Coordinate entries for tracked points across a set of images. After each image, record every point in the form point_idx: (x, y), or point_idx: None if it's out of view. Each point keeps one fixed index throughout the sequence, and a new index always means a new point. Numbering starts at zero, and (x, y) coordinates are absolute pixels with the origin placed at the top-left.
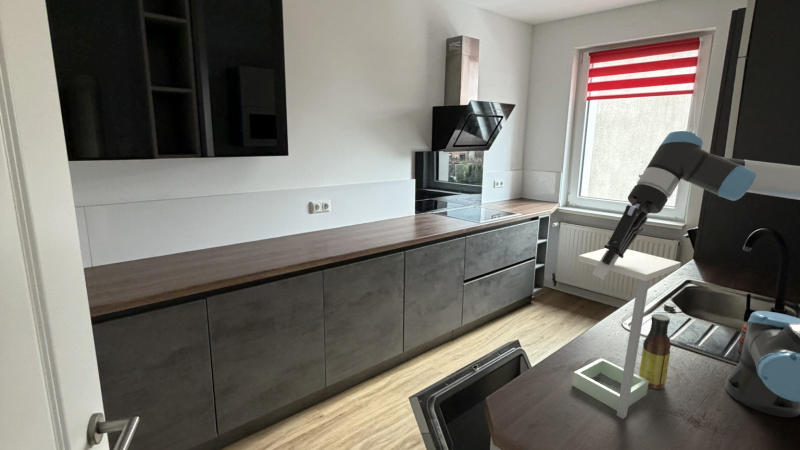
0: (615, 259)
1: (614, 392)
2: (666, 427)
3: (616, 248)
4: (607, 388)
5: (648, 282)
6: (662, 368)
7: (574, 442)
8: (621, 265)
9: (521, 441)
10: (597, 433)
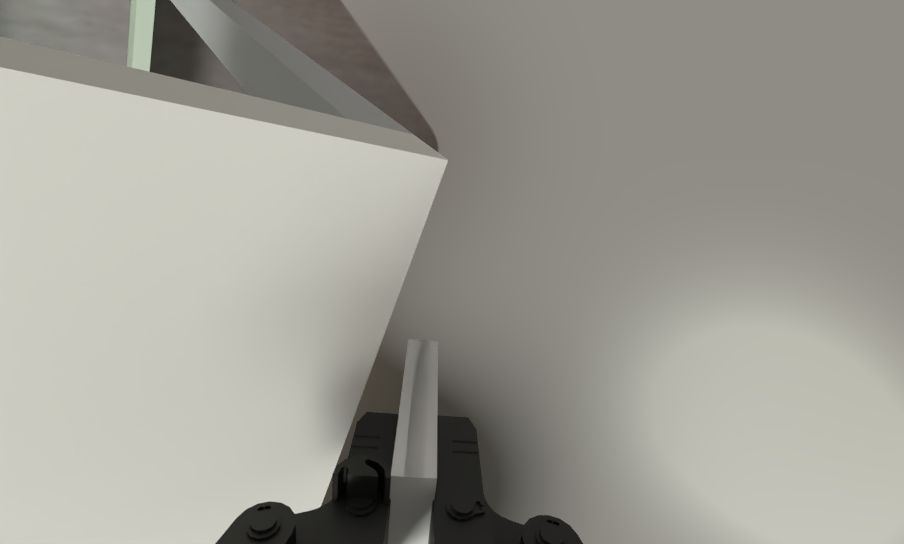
0: (435, 442)
1: (144, 20)
2: None
3: (522, 529)
4: (139, 49)
5: (345, 111)
6: None
7: (378, 58)
8: (311, 400)
9: (436, 143)
10: (310, 19)
